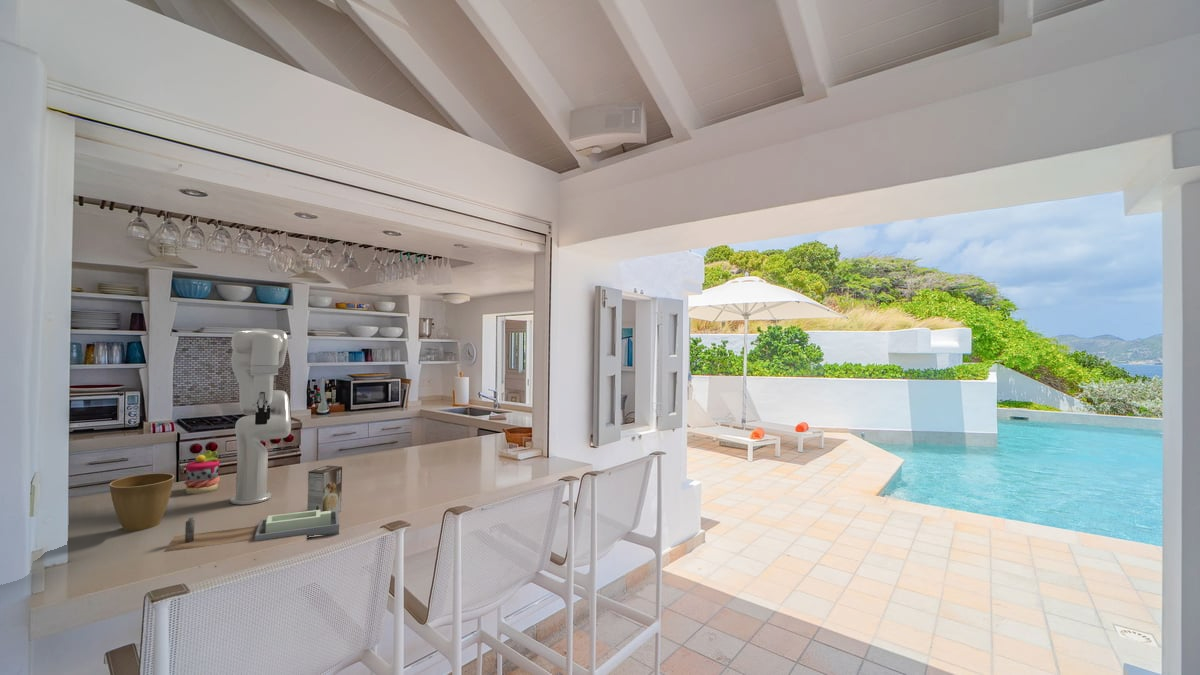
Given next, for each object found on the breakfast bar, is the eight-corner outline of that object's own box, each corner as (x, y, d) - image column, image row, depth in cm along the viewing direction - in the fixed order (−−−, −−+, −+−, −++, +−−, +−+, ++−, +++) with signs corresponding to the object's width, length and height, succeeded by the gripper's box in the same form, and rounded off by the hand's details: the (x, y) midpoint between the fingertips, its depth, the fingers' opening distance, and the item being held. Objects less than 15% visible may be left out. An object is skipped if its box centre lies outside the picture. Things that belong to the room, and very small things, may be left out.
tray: (260, 529, 159) (260, 519, 159) (337, 519, 170) (338, 510, 170) (254, 545, 147) (255, 535, 147) (338, 533, 158) (339, 524, 158)
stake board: (174, 541, 148) (175, 514, 148) (255, 530, 158) (256, 505, 158) (163, 557, 138) (164, 528, 138) (251, 545, 147) (252, 518, 147)
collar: (267, 530, 157) (268, 515, 157) (330, 521, 166) (330, 508, 166) (265, 538, 151) (265, 523, 151) (330, 529, 159) (331, 515, 159)
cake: (209, 494, 192) (211, 455, 192) (178, 495, 189) (179, 455, 189) (224, 486, 202) (225, 449, 202) (194, 487, 200) (195, 449, 200)
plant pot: (112, 527, 157) (114, 476, 157) (174, 519, 165) (176, 470, 166) (102, 544, 145) (104, 489, 145) (169, 533, 153) (171, 482, 154)
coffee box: (326, 509, 179) (327, 464, 179) (341, 511, 178) (343, 466, 178) (306, 518, 170) (307, 471, 170) (322, 520, 169) (324, 472, 169)
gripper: (254, 368, 171) (252, 418, 171) (247, 372, 156) (245, 427, 156) (280, 368, 175) (278, 417, 174) (276, 372, 159) (273, 425, 159)
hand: (262, 422), depth 165 cm, fingers open, 9 cm apart
